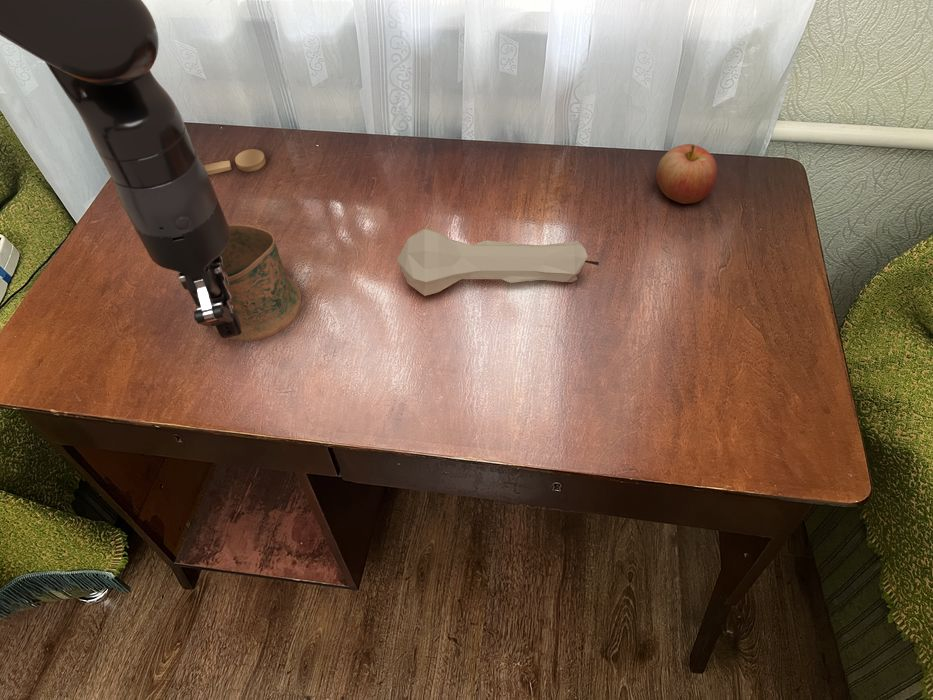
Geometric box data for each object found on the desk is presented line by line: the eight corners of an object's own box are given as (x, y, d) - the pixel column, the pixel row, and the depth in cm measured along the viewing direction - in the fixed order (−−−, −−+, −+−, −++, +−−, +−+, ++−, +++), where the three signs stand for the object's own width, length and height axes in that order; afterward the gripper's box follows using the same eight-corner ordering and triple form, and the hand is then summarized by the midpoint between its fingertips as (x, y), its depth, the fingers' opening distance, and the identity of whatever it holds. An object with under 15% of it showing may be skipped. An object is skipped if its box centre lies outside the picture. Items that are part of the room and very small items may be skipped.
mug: (218, 247, 94) (188, 173, 85) (320, 293, 88) (299, 219, 79) (154, 301, 88) (114, 229, 79) (258, 354, 82) (228, 283, 73)
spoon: (164, 190, 102) (162, 184, 102) (163, 172, 105) (161, 167, 104) (267, 168, 105) (265, 162, 104) (263, 152, 108) (262, 146, 107)
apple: (655, 173, 101) (666, 125, 95) (712, 182, 100) (726, 133, 93) (648, 208, 96) (658, 159, 90) (707, 217, 95) (722, 169, 89)
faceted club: (399, 252, 91) (589, 249, 92) (399, 310, 88) (595, 307, 88) (395, 213, 83) (602, 211, 84) (394, 276, 80) (610, 273, 80)
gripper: (129, 171, 65) (192, 298, 78) (129, 264, 57) (200, 388, 70) (210, 154, 66) (259, 282, 80) (222, 243, 58) (274, 369, 71)
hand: (231, 331), depth 75 cm, fingers closed
